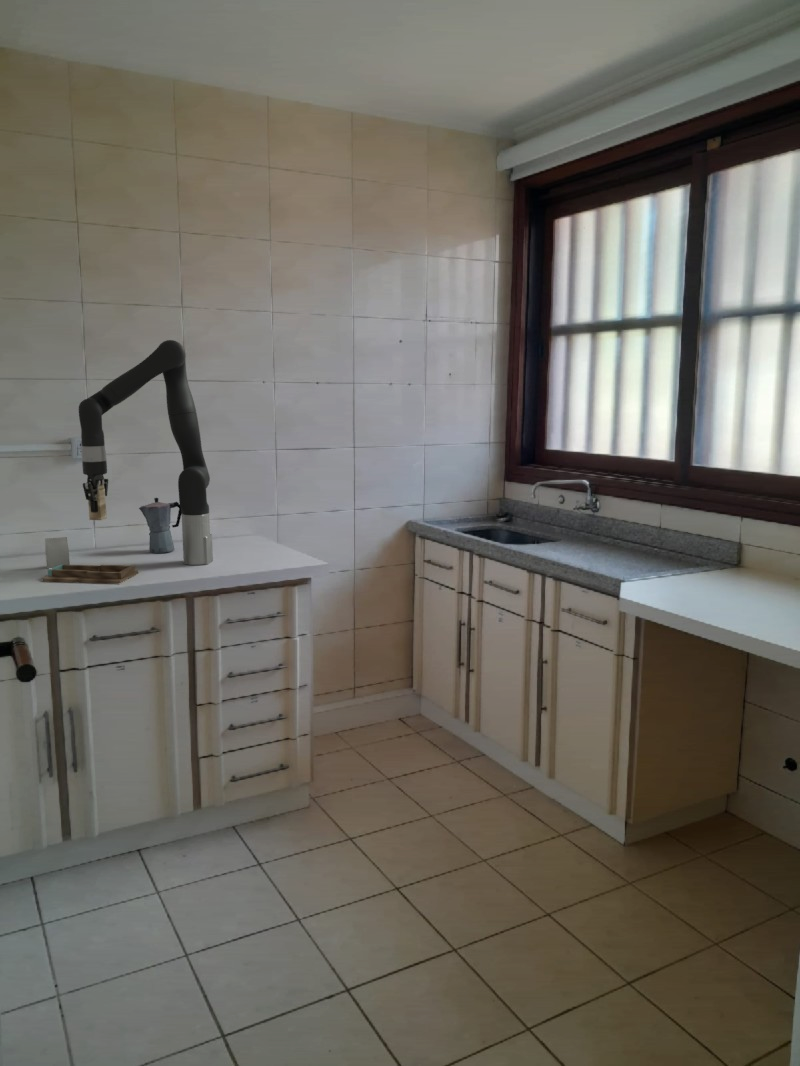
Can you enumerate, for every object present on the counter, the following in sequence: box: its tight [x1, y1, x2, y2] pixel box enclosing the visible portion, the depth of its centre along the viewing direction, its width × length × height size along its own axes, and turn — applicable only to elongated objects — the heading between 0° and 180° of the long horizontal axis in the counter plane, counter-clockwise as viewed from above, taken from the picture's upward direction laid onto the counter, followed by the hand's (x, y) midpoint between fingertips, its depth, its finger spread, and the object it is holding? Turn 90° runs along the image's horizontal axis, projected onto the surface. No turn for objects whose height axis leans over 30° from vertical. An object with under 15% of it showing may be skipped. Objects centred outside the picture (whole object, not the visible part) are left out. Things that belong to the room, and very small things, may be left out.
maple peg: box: [87, 485, 107, 521], centre depth 266 cm, size 5×5×11 cm
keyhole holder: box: [42, 564, 140, 584], centre depth 255 cm, size 25×14×3 cm, turn 85°
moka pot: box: [138, 497, 182, 554], centre depth 294 cm, size 10×15×20 cm, turn 115°
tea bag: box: [44, 536, 71, 570], centre depth 269 cm, size 4×7×10 cm, turn 120°
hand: (97, 510), depth 267 cm, fingers closed on maple peg, 4 cm apart
